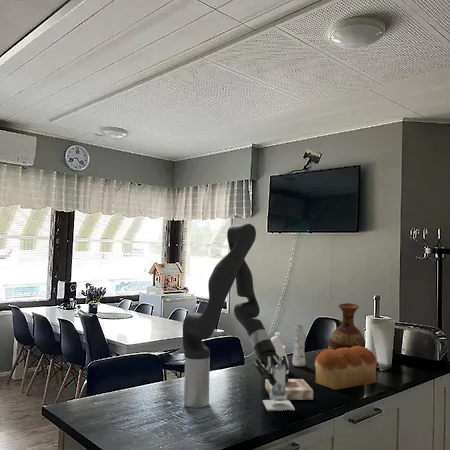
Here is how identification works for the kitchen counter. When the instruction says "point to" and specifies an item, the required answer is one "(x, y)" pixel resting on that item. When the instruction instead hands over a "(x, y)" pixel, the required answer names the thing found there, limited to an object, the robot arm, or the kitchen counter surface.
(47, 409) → the kitchen counter surface
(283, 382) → the steel plug
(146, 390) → the kitchen counter surface
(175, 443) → the kitchen counter surface
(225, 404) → the kitchen counter surface
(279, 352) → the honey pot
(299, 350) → the plastic bottle
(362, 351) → the bread
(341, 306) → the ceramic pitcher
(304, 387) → the frame
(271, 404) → the grey rubber pad
